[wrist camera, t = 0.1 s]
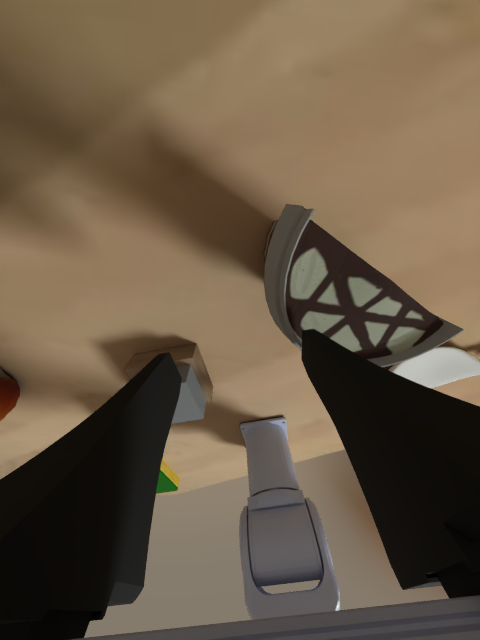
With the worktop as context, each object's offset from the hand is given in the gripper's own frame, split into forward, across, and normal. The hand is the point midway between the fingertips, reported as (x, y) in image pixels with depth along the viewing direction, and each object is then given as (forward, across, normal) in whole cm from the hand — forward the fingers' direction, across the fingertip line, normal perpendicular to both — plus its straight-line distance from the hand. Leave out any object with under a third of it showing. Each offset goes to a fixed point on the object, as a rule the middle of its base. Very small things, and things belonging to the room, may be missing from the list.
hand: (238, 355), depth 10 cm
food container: (+10, -6, 0) cm, 12 cm away
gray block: (+8, +9, +10) cm, 16 cm away
